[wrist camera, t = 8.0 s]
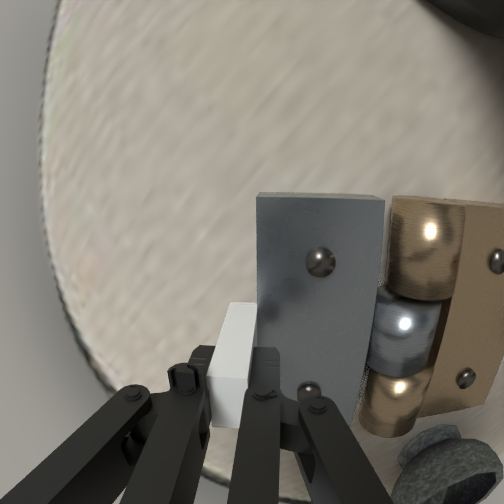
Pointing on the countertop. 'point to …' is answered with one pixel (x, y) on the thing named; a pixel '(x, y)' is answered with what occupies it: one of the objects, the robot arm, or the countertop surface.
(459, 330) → the fixed leaf
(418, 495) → the mortar and pestle
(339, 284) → the loose leaf
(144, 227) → the countertop surface
